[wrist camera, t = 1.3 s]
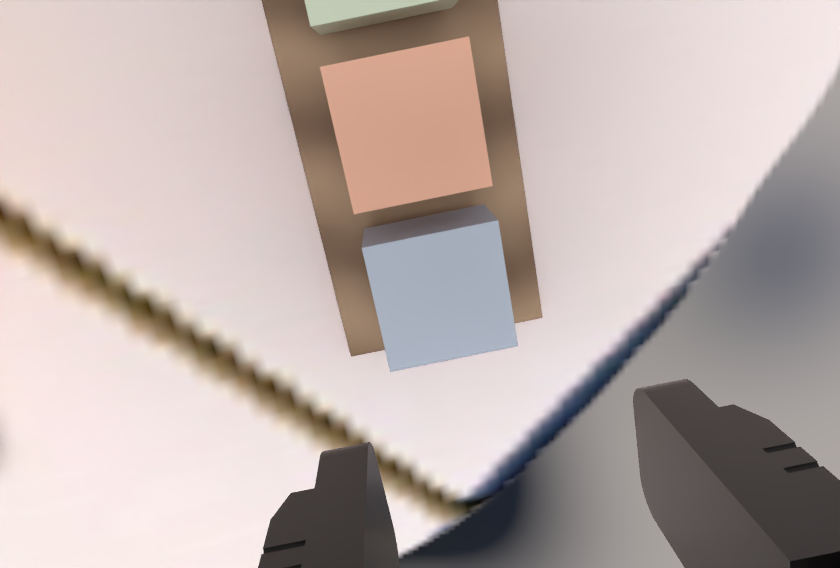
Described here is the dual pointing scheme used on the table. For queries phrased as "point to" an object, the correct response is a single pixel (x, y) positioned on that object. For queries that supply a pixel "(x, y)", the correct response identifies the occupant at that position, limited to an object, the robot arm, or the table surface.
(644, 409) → the robot arm
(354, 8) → the button sage
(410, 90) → the button terracotta
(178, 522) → the table surface
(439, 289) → the button slate
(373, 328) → the board
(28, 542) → the table surface
